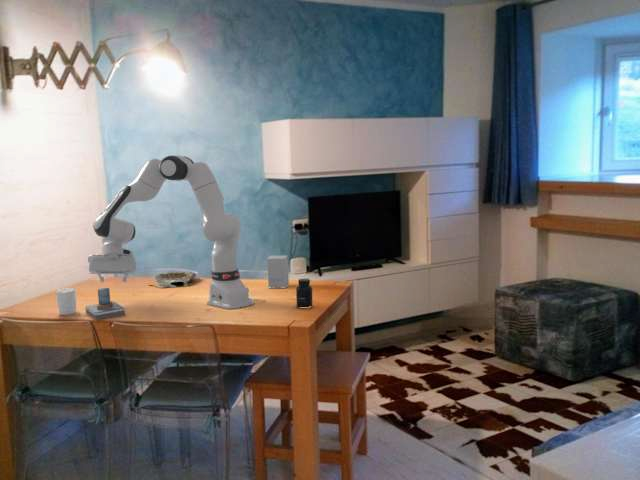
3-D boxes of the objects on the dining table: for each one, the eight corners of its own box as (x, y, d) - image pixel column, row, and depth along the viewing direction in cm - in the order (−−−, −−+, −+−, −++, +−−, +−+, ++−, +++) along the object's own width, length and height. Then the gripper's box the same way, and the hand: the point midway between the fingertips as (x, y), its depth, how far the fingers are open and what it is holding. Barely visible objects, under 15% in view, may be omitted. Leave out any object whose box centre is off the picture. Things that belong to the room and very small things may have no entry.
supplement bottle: (298, 309, 248) (297, 281, 247) (295, 305, 255) (294, 278, 253) (314, 308, 250) (313, 280, 248) (310, 304, 257) (309, 277, 255)
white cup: (71, 309, 260) (69, 287, 259) (81, 312, 255) (79, 289, 254) (54, 313, 254) (52, 290, 253) (63, 316, 249) (61, 293, 248)
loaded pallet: (100, 305, 254) (98, 287, 253) (112, 304, 255) (110, 286, 254) (97, 309, 247) (95, 291, 246) (109, 308, 248) (108, 290, 247)
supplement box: (289, 284, 297) (288, 255, 295) (286, 288, 288) (285, 258, 286) (271, 284, 298) (270, 255, 296) (268, 288, 289) (266, 258, 287)
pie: (140, 283, 311) (139, 274, 311) (186, 276, 329) (185, 267, 329) (165, 291, 291) (165, 281, 290) (213, 283, 309) (213, 273, 308)
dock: (125, 314, 249) (124, 307, 249) (95, 320, 242) (94, 312, 242) (114, 308, 261) (113, 301, 260) (85, 313, 254) (85, 306, 253)
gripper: (88, 250, 264) (88, 278, 257) (136, 251, 272) (137, 277, 265) (87, 258, 268) (87, 285, 262) (134, 258, 277) (136, 284, 270)
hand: (113, 281), depth 264 cm, fingers open, 8 cm apart
